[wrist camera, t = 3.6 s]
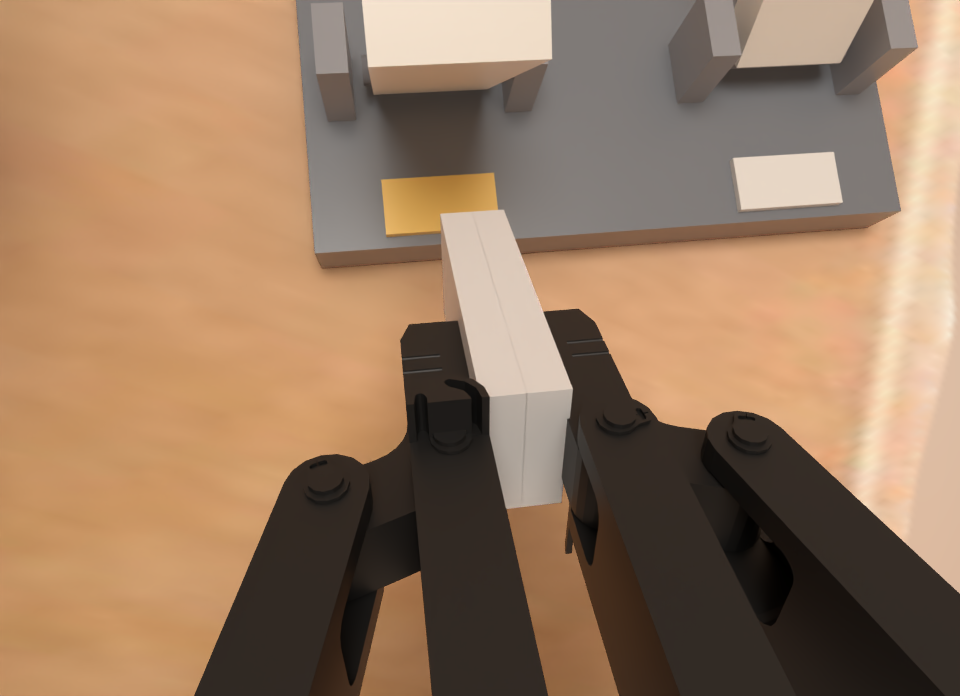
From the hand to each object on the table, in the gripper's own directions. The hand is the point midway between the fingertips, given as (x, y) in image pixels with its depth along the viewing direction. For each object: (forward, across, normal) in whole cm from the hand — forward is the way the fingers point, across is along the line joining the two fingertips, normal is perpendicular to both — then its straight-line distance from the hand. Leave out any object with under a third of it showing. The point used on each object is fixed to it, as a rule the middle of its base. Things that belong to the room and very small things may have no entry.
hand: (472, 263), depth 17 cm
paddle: (+11, 0, +2) cm, 11 cm away
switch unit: (+13, +6, 0) cm, 14 cm away
